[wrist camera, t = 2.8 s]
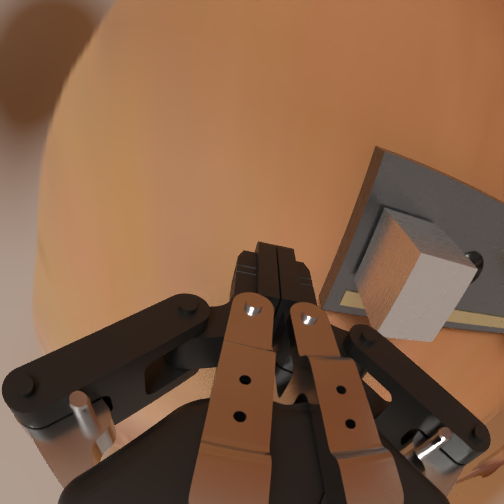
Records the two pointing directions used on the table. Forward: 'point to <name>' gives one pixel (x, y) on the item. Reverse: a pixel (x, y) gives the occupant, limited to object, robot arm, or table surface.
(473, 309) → the plate
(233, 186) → the table surface
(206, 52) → the table surface
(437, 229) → the light grey block
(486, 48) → the table surface
